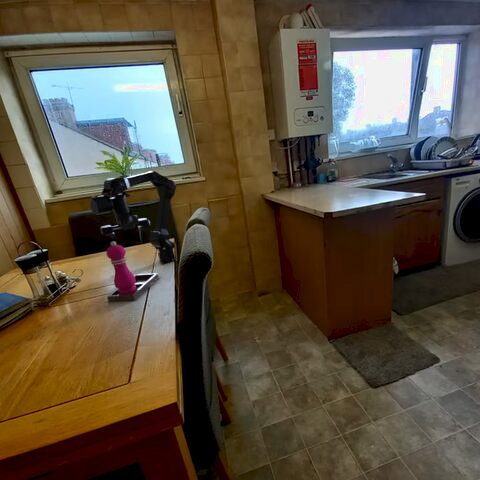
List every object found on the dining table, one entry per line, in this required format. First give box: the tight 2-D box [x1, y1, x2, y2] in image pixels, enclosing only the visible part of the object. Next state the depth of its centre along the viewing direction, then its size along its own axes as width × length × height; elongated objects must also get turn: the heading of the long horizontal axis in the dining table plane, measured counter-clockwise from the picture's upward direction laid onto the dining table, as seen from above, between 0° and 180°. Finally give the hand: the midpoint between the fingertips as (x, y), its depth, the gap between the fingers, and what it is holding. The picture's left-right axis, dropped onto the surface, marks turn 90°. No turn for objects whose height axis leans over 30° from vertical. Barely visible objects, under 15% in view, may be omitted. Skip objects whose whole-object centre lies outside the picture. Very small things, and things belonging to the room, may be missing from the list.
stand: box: [106, 272, 160, 303], centre depth 108 cm, size 10×19×2 cm, turn 175°
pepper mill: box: [106, 240, 137, 295], centre depth 101 cm, size 7×7×20 cm
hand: (131, 245), depth 120 cm, fingers open, 9 cm apart
